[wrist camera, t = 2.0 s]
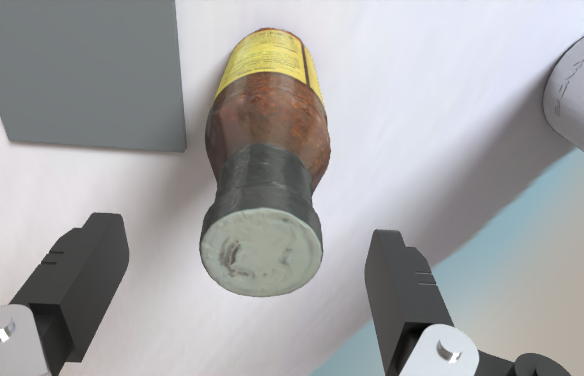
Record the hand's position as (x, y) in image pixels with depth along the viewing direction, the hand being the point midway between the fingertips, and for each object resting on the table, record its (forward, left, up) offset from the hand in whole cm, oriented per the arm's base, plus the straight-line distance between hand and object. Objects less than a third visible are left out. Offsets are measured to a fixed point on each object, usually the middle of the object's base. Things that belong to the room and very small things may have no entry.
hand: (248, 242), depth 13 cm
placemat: (+14, +1, -19) cm, 24 cm away
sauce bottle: (0, 0, -20) cm, 20 cm away
